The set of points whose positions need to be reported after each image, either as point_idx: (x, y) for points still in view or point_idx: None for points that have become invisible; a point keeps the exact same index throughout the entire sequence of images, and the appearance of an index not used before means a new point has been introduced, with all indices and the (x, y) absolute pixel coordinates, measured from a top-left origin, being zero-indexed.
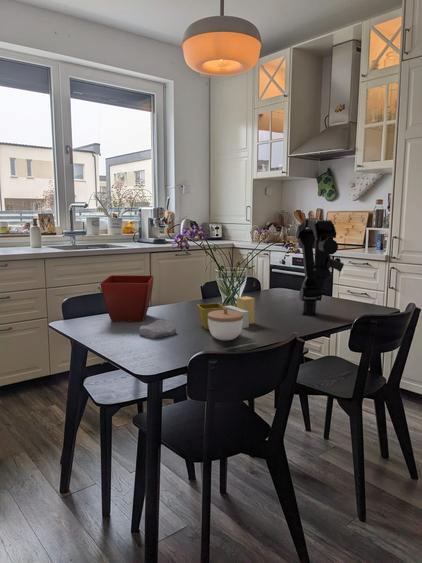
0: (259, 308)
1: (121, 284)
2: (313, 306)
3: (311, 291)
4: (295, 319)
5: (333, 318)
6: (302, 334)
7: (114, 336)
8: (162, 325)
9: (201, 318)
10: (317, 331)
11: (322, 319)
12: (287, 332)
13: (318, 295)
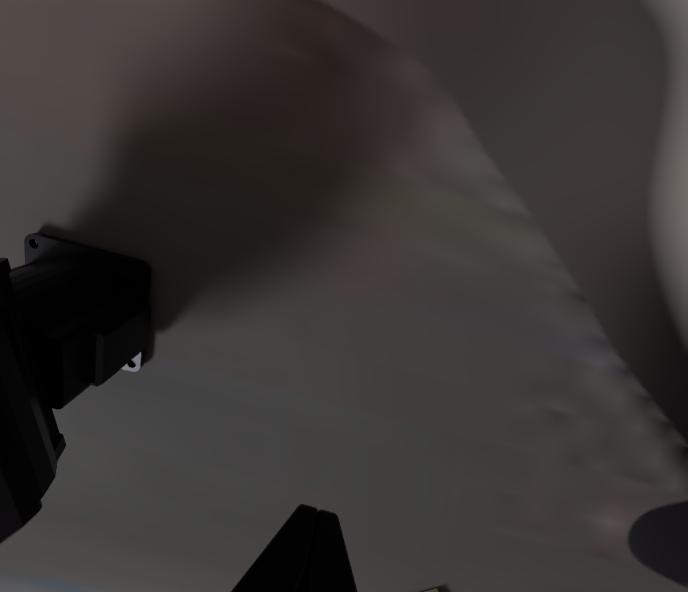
0: (17, 558)
1: None
2: (98, 320)
3: (6, 461)
4: (278, 439)
5: (228, 142)
6: (672, 497)
7: None
8: None
9: None
10: (623, 390)
11: (269, 251)
12: (600, 559)
13: (10, 334)
